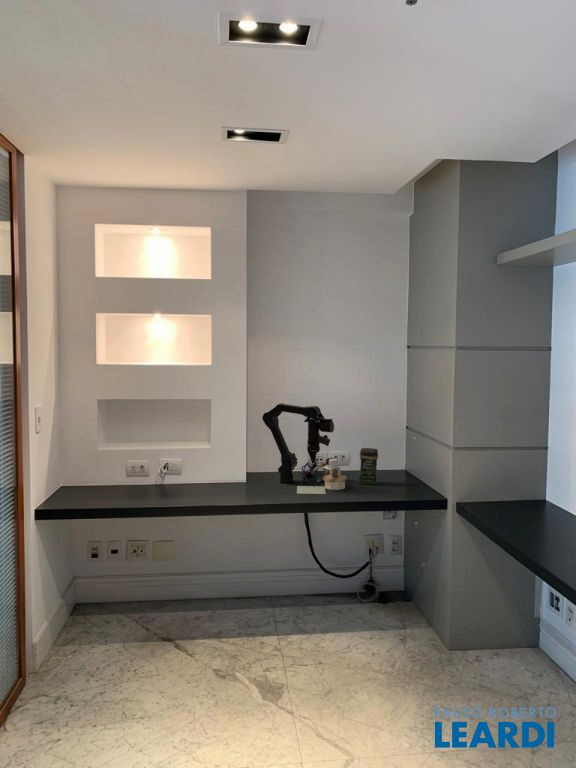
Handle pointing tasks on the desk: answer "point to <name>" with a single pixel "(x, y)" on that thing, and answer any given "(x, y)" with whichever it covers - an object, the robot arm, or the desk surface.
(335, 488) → the bowl
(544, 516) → the desk surface
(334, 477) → the lid
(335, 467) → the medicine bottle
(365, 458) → the coffee jar
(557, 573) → the desk surface
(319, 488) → the mat
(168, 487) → the desk surface
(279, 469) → the robot arm
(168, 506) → the desk surface
